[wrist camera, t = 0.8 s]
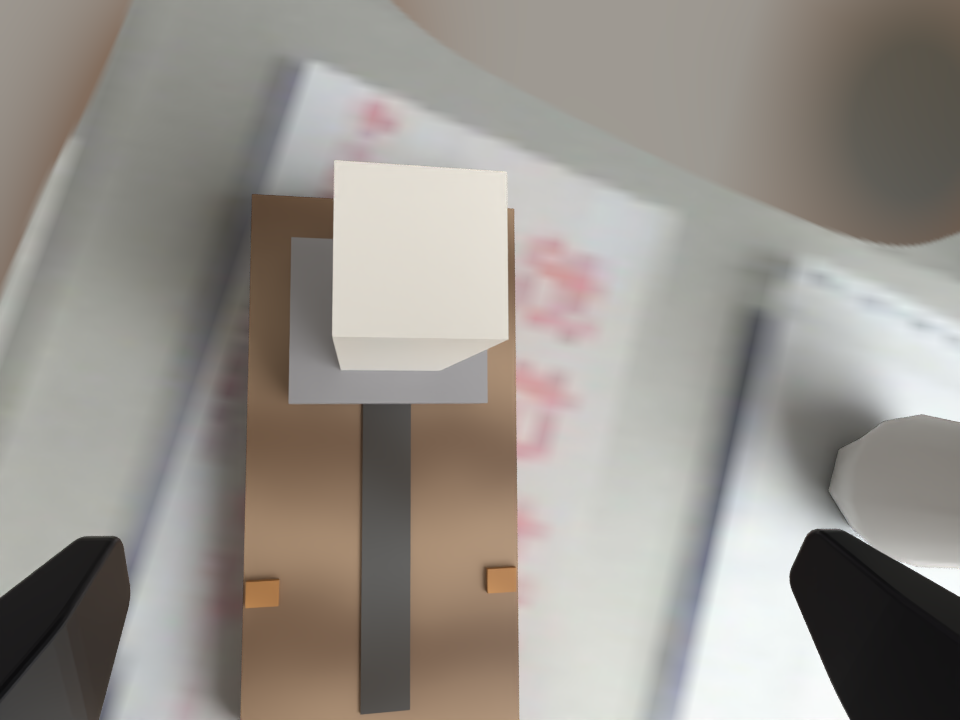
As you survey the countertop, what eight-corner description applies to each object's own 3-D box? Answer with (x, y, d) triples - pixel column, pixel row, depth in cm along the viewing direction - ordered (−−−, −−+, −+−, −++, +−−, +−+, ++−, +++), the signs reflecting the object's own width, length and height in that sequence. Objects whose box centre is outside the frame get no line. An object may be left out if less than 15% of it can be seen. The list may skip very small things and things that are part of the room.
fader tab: (475, 403, 22) (590, 396, 12) (294, 404, 21) (235, 396, 10) (474, 259, 23) (586, 124, 12) (296, 253, 22) (242, 95, 11)
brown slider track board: (505, 703, 24) (520, 731, 22) (249, 727, 22) (238, 761, 20) (501, 224, 25) (515, 207, 23) (260, 211, 24) (250, 192, 22)
